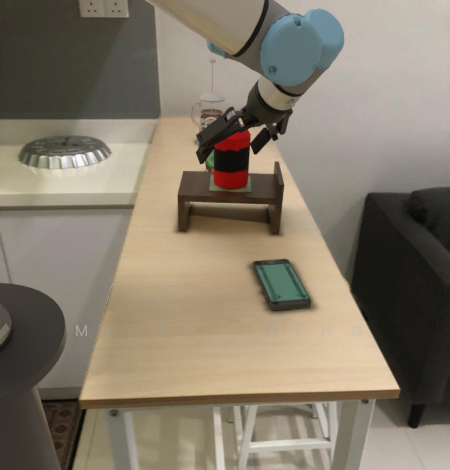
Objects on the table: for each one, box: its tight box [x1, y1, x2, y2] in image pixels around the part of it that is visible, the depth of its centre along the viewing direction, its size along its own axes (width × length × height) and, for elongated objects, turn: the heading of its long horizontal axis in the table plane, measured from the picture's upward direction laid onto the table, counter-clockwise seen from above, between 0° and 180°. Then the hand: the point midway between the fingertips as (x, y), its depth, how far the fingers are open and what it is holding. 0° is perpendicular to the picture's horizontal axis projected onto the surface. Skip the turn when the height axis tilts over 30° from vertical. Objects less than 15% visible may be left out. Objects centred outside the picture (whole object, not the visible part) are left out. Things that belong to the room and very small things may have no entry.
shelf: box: [177, 160, 285, 236], centre depth 104 cm, size 22×14×12 cm, turn 89°
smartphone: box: [252, 258, 312, 311], centre depth 85 cm, size 7×1×15 cm
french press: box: [190, 57, 226, 145], centre depth 146 cm, size 10×12×25 cm
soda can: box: [213, 123, 252, 189], centre depth 99 cm, size 8×8×12 cm
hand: (227, 153), depth 100 cm, fingers open, 13 cm apart
